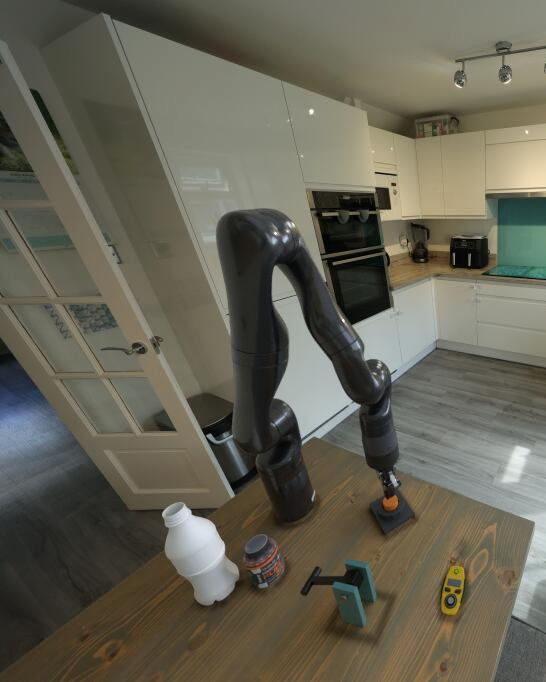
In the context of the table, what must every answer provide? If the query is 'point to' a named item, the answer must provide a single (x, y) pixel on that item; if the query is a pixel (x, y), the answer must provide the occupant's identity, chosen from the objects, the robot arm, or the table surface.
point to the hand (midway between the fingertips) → (389, 495)
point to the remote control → (452, 590)
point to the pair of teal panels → (354, 594)
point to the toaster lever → (332, 579)
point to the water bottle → (199, 554)
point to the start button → (390, 503)
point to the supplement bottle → (263, 561)
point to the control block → (392, 513)
